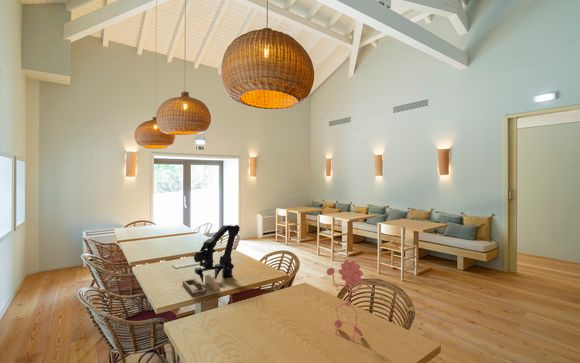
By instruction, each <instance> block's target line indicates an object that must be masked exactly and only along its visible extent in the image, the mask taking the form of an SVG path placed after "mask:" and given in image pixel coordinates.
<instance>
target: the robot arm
mask: <svg viewBox="0 0 580 363" xmlns="http://www.w3.org/2000/svg"><path fill="white" fill-rule="evenodd" d="M240 229H241V227H240V226H239V224H233V223H232V224H224V225H223V224H222V226H221V227H220V228H219V229H218V231H216V233H214V235H213V236H211V238H208V239H207V240H205V241H204V242H203V243H202V246H201V248H200V250H199V251H196V252H195V254H194V255H193V261H195V262H196V263H197V262H200V264H199V266H200V267H195V268H194V273H195V274H196V275H198V276H199V277H200V278H199V279H200V280H201V284H202V283H204V273H203V272H206V271H212V270H214V278H215V279H216V280H217V278H218V276H219V273H220V272H221V276H222V277H223V278H225V279H229V278H232V277H234V275H233V269H234V267H235V265H234V264H233V263H232V261H233V260H232V257H231V255H232V252H233V248H234V243H235V239H236V237H237V236H238V234H239V232H240ZM227 232H228V239H227V241H226V246H225V250H224V253H223V255H221V256H220V258H219V263H217V264H215V265H214V253H215V252H216V250H215V247H216V245H217V242H218V241H220V239H221V238H222V237H223V236H224V235H225V234H227ZM203 261H204V262H203Z"/></svg>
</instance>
